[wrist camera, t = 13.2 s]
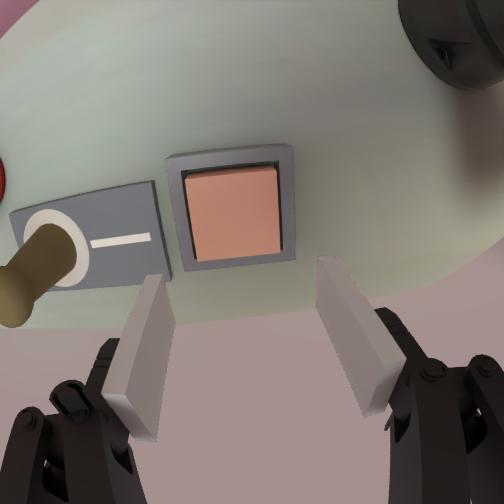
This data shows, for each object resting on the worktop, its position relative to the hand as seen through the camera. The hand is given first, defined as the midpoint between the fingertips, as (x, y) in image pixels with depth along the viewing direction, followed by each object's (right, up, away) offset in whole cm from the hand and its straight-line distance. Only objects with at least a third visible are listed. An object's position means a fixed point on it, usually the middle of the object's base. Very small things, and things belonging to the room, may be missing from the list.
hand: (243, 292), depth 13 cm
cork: (-20, +2, +13) cm, 24 cm away
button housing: (-1, +6, +14) cm, 15 cm away
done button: (-1, +6, +12) cm, 14 cm away
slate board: (-17, +3, +14) cm, 22 cm away
